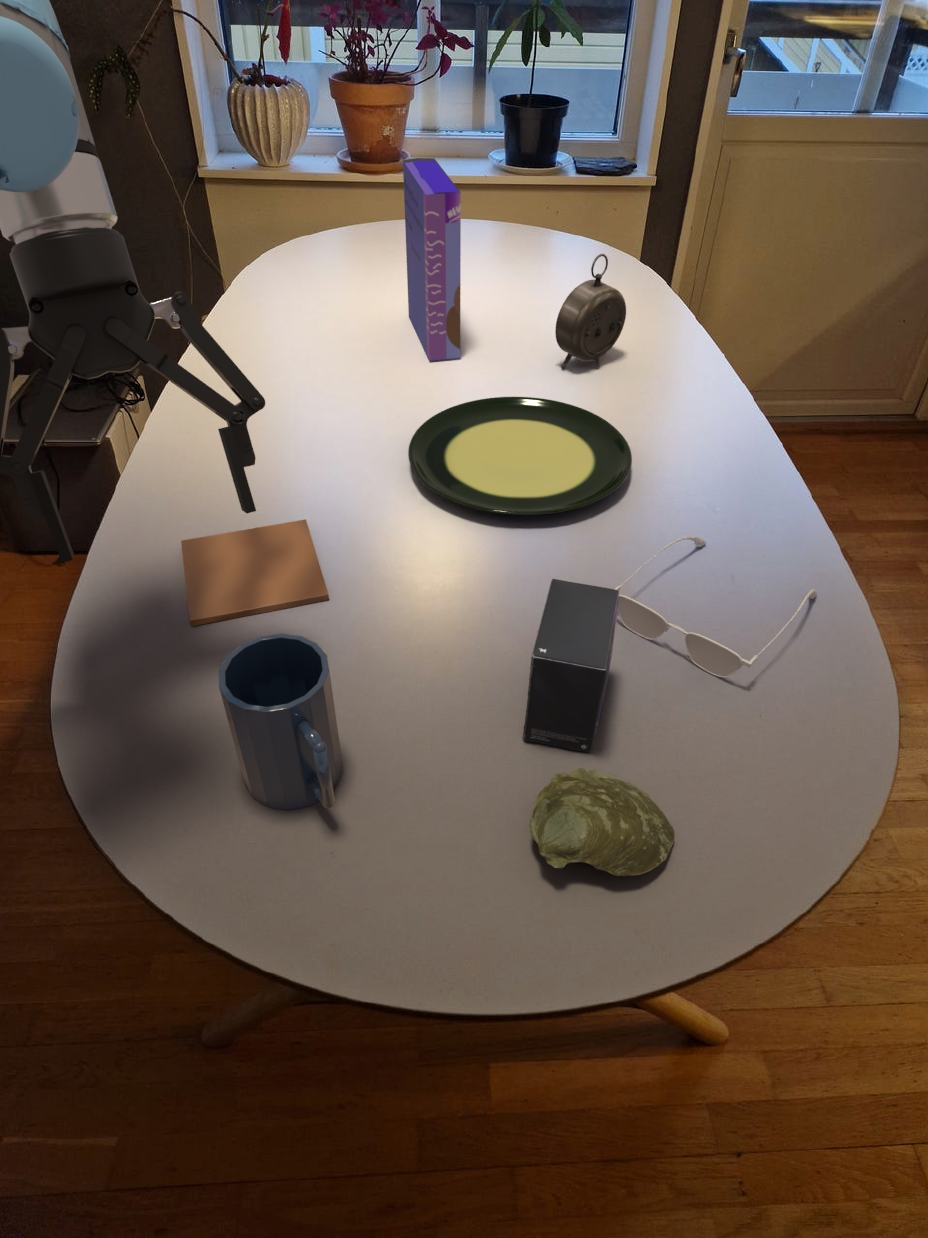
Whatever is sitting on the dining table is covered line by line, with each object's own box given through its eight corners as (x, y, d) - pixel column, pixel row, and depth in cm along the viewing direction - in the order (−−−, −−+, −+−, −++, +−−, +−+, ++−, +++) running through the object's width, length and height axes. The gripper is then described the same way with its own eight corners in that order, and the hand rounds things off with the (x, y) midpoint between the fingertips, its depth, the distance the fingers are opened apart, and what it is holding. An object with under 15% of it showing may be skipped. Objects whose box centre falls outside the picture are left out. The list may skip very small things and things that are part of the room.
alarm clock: (601, 348, 135) (613, 240, 124) (626, 360, 132) (641, 251, 121) (550, 367, 130) (558, 257, 119) (575, 380, 127) (586, 268, 116)
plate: (659, 441, 114) (662, 424, 112) (581, 556, 95) (583, 538, 94) (470, 394, 123) (470, 378, 122) (367, 490, 105) (365, 473, 103)
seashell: (698, 819, 68) (645, 806, 60) (659, 904, 68) (601, 902, 60) (595, 763, 74) (535, 745, 66) (559, 841, 74) (495, 831, 66)
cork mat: (191, 626, 87) (189, 620, 86) (182, 546, 96) (180, 540, 96) (329, 600, 90) (328, 594, 89) (306, 524, 100) (305, 519, 99)
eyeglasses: (604, 618, 88) (609, 588, 85) (695, 539, 98) (701, 510, 95) (741, 692, 80) (751, 661, 78) (824, 598, 90) (835, 568, 88)
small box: (595, 756, 74) (609, 671, 67) (521, 742, 76) (527, 657, 69) (608, 671, 82) (622, 587, 75) (541, 660, 83) (548, 575, 76)
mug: (229, 760, 74) (201, 661, 66) (314, 719, 77) (297, 620, 69) (289, 854, 67) (266, 756, 59) (379, 804, 71) (369, 705, 63)
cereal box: (460, 359, 132) (460, 190, 116) (429, 362, 131) (425, 192, 115) (436, 314, 145) (434, 156, 128) (408, 316, 144) (402, 158, 128)
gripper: (236, 219, 66) (308, 488, 73) (-124, 277, 59) (-8, 572, 65) (250, 196, 59) (328, 496, 66) (-155, 259, 52) (-22, 590, 58)
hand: (161, 534), depth 66 cm, fingers open, 13 cm apart
